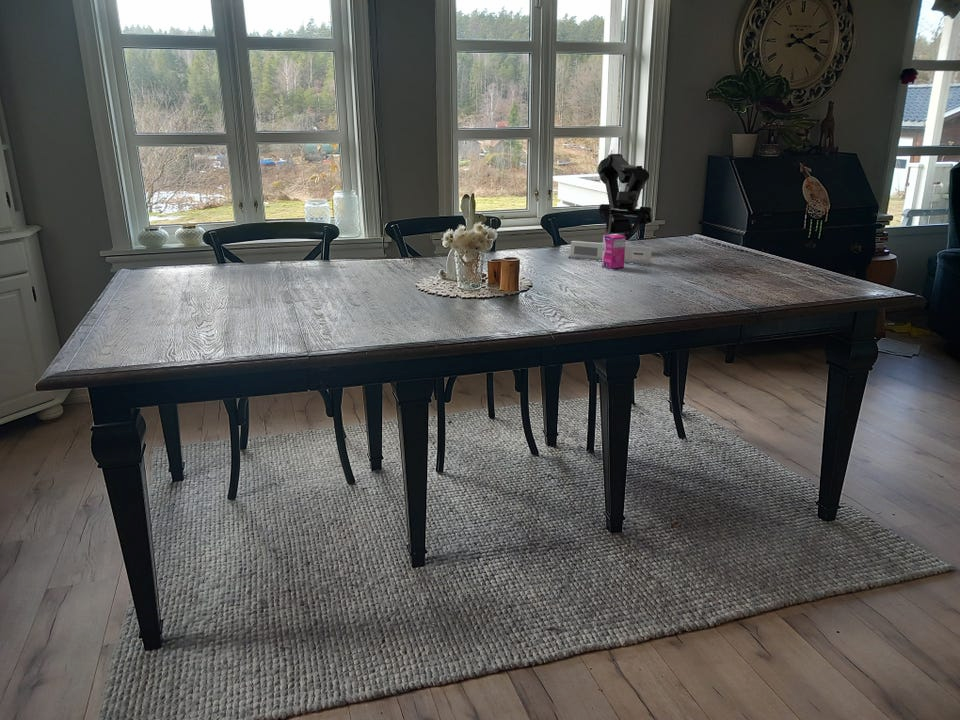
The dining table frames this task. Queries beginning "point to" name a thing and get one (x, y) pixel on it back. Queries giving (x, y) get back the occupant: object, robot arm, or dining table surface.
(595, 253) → the panel
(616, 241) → the supplement box
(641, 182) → the robot arm
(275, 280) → the dining table surface
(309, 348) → the dining table surface
